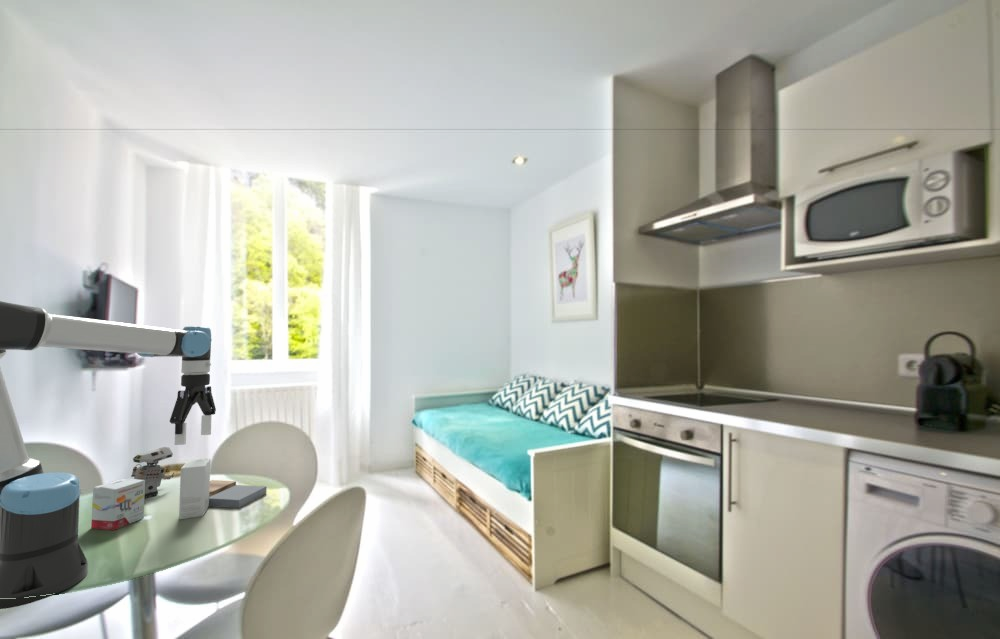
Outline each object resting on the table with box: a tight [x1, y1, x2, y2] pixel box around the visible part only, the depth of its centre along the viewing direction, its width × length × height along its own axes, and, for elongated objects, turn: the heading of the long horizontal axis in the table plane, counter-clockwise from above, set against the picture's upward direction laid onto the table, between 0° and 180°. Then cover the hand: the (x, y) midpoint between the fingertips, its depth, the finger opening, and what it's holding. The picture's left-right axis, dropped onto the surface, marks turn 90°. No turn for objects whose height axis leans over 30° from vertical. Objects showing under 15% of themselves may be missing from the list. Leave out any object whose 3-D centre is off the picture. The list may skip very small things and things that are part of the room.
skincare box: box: [178, 458, 212, 521], centre depth 126 cm, size 8×7×16 cm
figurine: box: [130, 446, 175, 499], centre depth 144 cm, size 9×12×15 cm
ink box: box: [91, 477, 146, 531], centre depth 120 cm, size 9×9×12 cm
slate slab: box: [209, 484, 267, 509], centre depth 136 cm, size 12×12×2 cm
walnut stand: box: [209, 479, 237, 497], centre depth 141 cm, size 10×10×3 cm
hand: (193, 439), depth 131 cm, fingers open, 13 cm apart
